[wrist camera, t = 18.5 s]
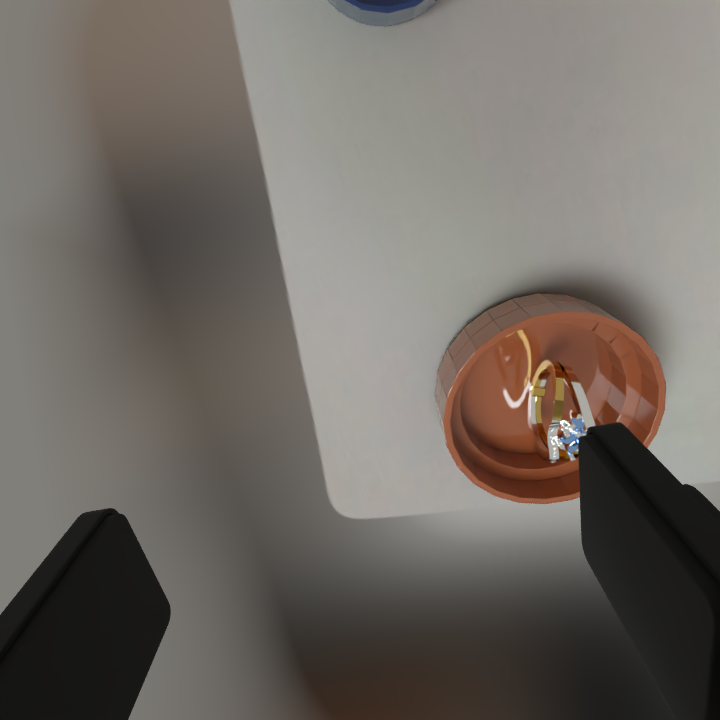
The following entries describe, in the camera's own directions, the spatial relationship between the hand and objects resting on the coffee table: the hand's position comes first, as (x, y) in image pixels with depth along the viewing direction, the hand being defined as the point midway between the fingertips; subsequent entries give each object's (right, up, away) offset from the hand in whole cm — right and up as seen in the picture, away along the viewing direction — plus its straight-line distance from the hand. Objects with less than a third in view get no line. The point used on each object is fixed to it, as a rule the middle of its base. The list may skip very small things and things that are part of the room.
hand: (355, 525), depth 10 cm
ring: (+14, +1, +27) cm, 31 cm away
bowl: (+13, +1, +28) cm, 31 cm away
